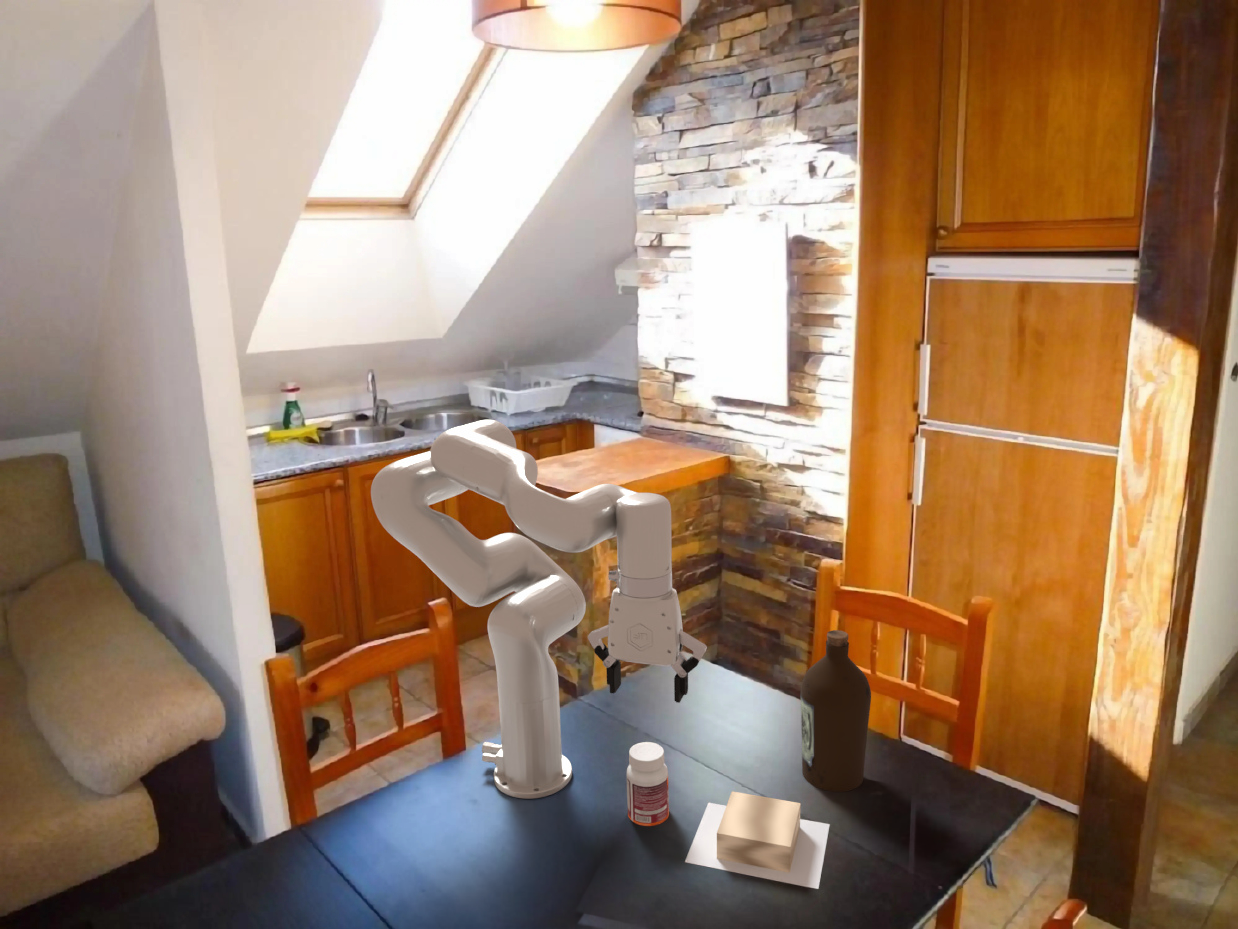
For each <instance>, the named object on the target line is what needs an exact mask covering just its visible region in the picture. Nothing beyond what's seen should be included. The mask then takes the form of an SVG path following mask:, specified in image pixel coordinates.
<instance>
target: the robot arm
mask: <svg viewBox="0 0 1238 929" xmlns="http://www.w3.org/2000/svg"><path fill="white" fill-rule="evenodd" d="M537 464H538V463H537V460H536V459H535V458H534V457H533V455H532V454H530V453H529V452H526V451H523V450H521V449H518V448H517V442H516V437H515V436H514V434H513V432H512V431H511V429H510V428H508V427H507V426H506V425H505V424H503V423H502V422H500V421H497V420H494V419H482V420H477V421H474V422H470V423H466V424H464V425H458V426H454V427H452V428H449V429H446V430H445V431H444V432H442V433H440V434H439V435H438V436H437V437H436V438H435V439H434V441H433V443H432V444H431V447H430V449H429V450H428V451H425V452H422V453H418V454H415V455H411V456H406V457H405V458H402V459H399V460H395V461H393V462H391V463H390V464H388V465H385V467H383V468H381V469H380V470H379V471H378V472H377V474H376V475H375V477H374V478H373V480H372V483H371V486H370V498H371V503H372V507H373V510H374V513H375V515H376V517H377V519H378V521H379V523H380V524H381V526H382V527H383V528H384V529H385V531H386V532H387V533H388V534H389V535H390V536H391V537H393V539H394V540H396V541H397V542H398V543H399V544H400V545H402V546H404V547H405V548H406V549H407V550H409V551H410V552H411V553H413V554H414V555H415V556H417V558H418V559H420V560H421V562H423V563H424V564H425V565H426V566H427V567H428V568H429V569H430V570H431V571H432V573H434V574H435V575H436V576H437V577H438V578H439V579H440V581H441V582H442V583H444V585H446V586H447V587H448V588H449V589H450V590H451V591H452V592H453V593H454V594H455V595H456V596H457V597H458V598H459V599H460V600H461V601H462V602H463V603H465V604H467V605H469V606H470V607H476V608H477V607H478V608H480V607H484V606H487V605H489V604H491V603H494V602H496V601H498V600H499V599H501V598H503V597H505V596H506V597H505V598H504V599H502V600H500V601H499V602H498V603H497V604H496V605H495V607H494V608H493V609H492V611H491V612H490V614H489V616H488V619H487V626H486V627H487V633H488V634H487V635H488V639H489V644H490V646H491V650H492V653H493V657H494V663H495V670H496V671H495V672H496V680H497V681H496V682H497V695H498V709H499V724H500V741H501V743H500V744H497V743H494V742H488V741H484V742H483V744H482V747H481V753H482V756H481V761H482V762H485V763H493V764H495V765H496V766H495V768H494V770H493V771H494V772H493V780H494V781H493V782H494V784H495V786H496V788H497V789H498V790H499V791H500V792H501V793H504V794H505V795H507V796H510V797H513V798H517V799H518V798H519V799H525V800H526V799H530V800H531V799H538V798H544V797H548V796H551V795H553V794H555V793H557V792H559V791H561V790H563V789H564V788H565V787H566V786H567V785H568V784H569V783H570V782H571V779H572V776H573V766H572V764H571V761H570V760H569V759H568V758H567V757H566V756H565V755H563V753H562V735H561V734H562V733H561V732H562V731H561V710H560V688H559V687H560V686H559V676H558V669H557V667H556V664H555V662H554V660H553V659H552V658H551V655H550V654H549V647H550V645H551V644H552V643H553V642H556V640H557V639H559V638H561V637H562V636H563V635H565V634H567V633H568V632H569V631H571V630H573V629H574V628H575V627H576V626H577V625H579V624H580V622H581V621H582V620H583V618H584V616H585V613H586V607H587V605H586V598H585V596H584V594H583V591H582V589H581V588H580V587H579V585H578V584H577V582H576V581H575V580H574V579H573V578H572V577H571V576H570V575H569V574H568V573H567V572H566V571H565V570H564V569H563V568H561V566H560V565H559V564H557V563H556V562H555V561H554V560H553V559H552V558H551V557H550V556H549V555H547V553H546V552H544V551H543V550H542V549H541V548H540V546H538V545H537V544H536V543H534V542H533V541H532V540H531V539H533V540H535V541H536V542H539V543H541V544H543V545H545V546H548V547H550V548H553V549H555V550H558V551H561V552H564V553H571V554H572V553H582V552H584V551H587V550H589V549H591V548H593V547H594V546H596V545H598V544H600V543H602V542H604V541H605V540H609V539H613V538H616V547H617V548H616V549H617V550H616V551H617V554H616V555H617V570H616V569H615V570H609V572H608V580H609V581H614V582H615V584H616V588H614V589H613V590H612V593H611V598H610V605H609V613H608V624H606V625H604V626H602V627H599V628H597V629H594V630H592V631H590V633H589V634H588V635H587V640H588V641H589V644H591V647H592V648H593V649H594V650H593V651H594V654H595V655H596V656H597V657H598V658H599V659H600V661H601V662H602V664H603V666H604V667H605V668H606V684H607V685H609V693H610V694H615V693H617V692H618V690H619V688H620V686H621V685H622V664H621V662H627V663H629V662H630V663H635V664H643V665H652V666H660V667H672V669H673V670H674V671H675V673H676V674H675V676H674V678H673V680H674V681H673V682H674V683H673V684H674V687H673V688H674V689H673V690H674V702H675V703H678V704H679V703H681V702H682V700H683V698H684V696H686V695H688V692H689V691H688V690H689V673H690V672H691V671H693V670H694V669H695V668H696V667H697V666H698V665H699V663H700V661H702V660H701V659H702V658H703V656H704V654H706V651H707V648H708V646H707V645H706V644H705V643H704V642H702V641H701V640H698V639H697V638H695V637H694V636H692V635H690V634H689V633H687V632H685V631H683V622H682V621H683V620H682V612H681V607H680V601H679V596H678V592H677V589H675V588H673V569H672V568H673V563H672V562H673V561H672V557H673V556H672V549H673V548H672V543H673V542H672V506H671V503H670V501H669V499H668V498H667V497H665V496H664V495H661V494H658V493H652V492H637V491H635V490H634V491H633V490H631V489H628V488H626V487H623V486H620V485H617V484H612V483H602V484H597V485H595V486H593V487H590V488H588V489H585V490H583V491H580V492H579V493H576V494H573V495H571V496H569V497H567V498H564V497H560V496H558V495H555V494H552V493H550V492H547V491H545V490H542V489H541V488H539V487H537V486H536V484H537V481H538V480H537V479H538V473H539V470H538V465H537ZM468 490H469V491H473V492H475V493H477V494H478V495H481V496H484V497H486V498H488V499H489V500H492V501H494V502H496V503H499V504H501V505H502V506H504V508H505V511H506V513H507V515H508V517H509V518H510V519H511V521H512V522H513V523H514V525H515V526H516V527H517V528H518V530H519V531H521V533H523V534H524V535H526V536H524V535H522V534H519V533H515V532H504V533H500V534H497V535H494V536H492V537H490V538H488V539H487V538H486V539H479V538H478V537H476V536H475V535H474V534H472V533H471V532H470V531H469V530H468V529H467V528H466V527H465V526H464V525H463V524H462V523H461V522H460V521H458V520H457V519H454V518H453V517H451V516H450V515H447V514H445V513H443V512H440V511H437V510H434V509H432V508H431V507H430V505H434V504H436V503H440V502H443V501H444V500H447V499H450V498H453V497H455V496H458V495H462V494H463V493H464V492H466V491H468ZM527 537H529V538H527ZM530 538H531V539H530ZM509 594H510V595H509ZM507 595H508V596H507ZM606 637H607V645H606V644H605V643H603V639H604V638H606ZM684 647H686V648H687V649H689V650H691V651H692V653H693V654H692V655H691V656H690V657H689V658H688V659H687V657H686V656H685V654H684V653H682V651H683V648H684Z"/></svg>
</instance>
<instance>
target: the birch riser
mask: <svg viewBox="0 0 1238 929" xmlns="http://www.w3.org/2000/svg"><path fill="white" fill-rule="evenodd" d="M801 804H802V803H800V802H795V801H789V800H784V799H778V798H773V797H767V796H761V795H755V794H749V793H745V792H737V791H733V790H732V791H731V793H730V795H729V798H728V801H727V804H726V805H725V806H726V809H725V812H724V814H723V817H722V820H721V823H720V825H719V828H718V831H717V858H718V859H723V860H728V861H733V862H738V863H743V864H748V865H753V866H758V867H763V868H768V869H773V870H778V871H783V872H788V873H790V870H791V865H792V861H793V856H794V852H795V848H796V843H797V839H798V834H799V830H800V819H801V806H802V805H801Z"/></svg>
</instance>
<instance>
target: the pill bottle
mask: <svg viewBox="0 0 1238 929" xmlns="http://www.w3.org/2000/svg"><path fill="white" fill-rule="evenodd" d="M628 753H629V754H628V755H629V756H628V761H629V762H628V763H629V764H628V766H627V769H626V797H627V798H626V799H627V801H626V802H627V803H626V804H627V816H628V819H629V820H630V821H632V822H633V823H634V824H636V825H639V826H644V827H652V826H653V827H654V826H657V825H658V826H659V825H660V824H663V823H664V822H665V821H666V820H668V818H669V816H670V801H669V800H670V796H669V795H670V794H669V792H670V790H669V788H670V787H669V769H668V766H667V765H666V763H665V762H666V761H665V750H664V748H663V747H662V746H661V744H660V745H659V743H656V742H651V741H645V742H644V741H643V742H639V743H636V744H634V745H632V746H631V747H630V748H629V751H628Z"/></svg>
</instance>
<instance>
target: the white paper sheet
mask: <svg viewBox="0 0 1238 929" xmlns="http://www.w3.org/2000/svg"><path fill="white" fill-rule="evenodd" d="M726 806H727V805H725V804H718V803H713V802H708V803H707V806H706V808H705V810H704V813H703V816H702V818H701V819H700V820H701V821H700V823H699V825H698V828H697V830H696V833H695V836H694V838H693V840H692V842H691V845H690V848H689V851H688V853H687V856H686V858H685V861H684V863H687V864H692V865H696V866H697V865H698V866H700V867H701V866H702V867H708V868H712V869H716V870H720V871H726V872H732V873H737V874H742V875H747V876H752V877H756V878H761V879H765V880H766V879H767V880H770V881H776V882H781V883H784V884H791V885H796V886H799V887H800V886H801V887H805V888H811V889H815V890H819V889H820V888H819V887H820V883H821V878H822V877H821V875H822V871H823V865H824V859H825V854H826V848H827V842H828V835H829V831H830V826H831V824H830V823H824V822H820V821H813V820H808V819H802V818H800V830H799V834H798V839H797V843H796V848H795V852H794V856H793V861H792V865H791V870H790V873H788V872H783V871H778V870H773V869H768V868H763V867H758V866H753V865H748V864H743V863H738V862H733V861H728V860H723V859H718V858H717V831H718V828H719V825H720V823H721V820H722V817H723V814H724V812H725V809H726Z"/></svg>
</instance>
